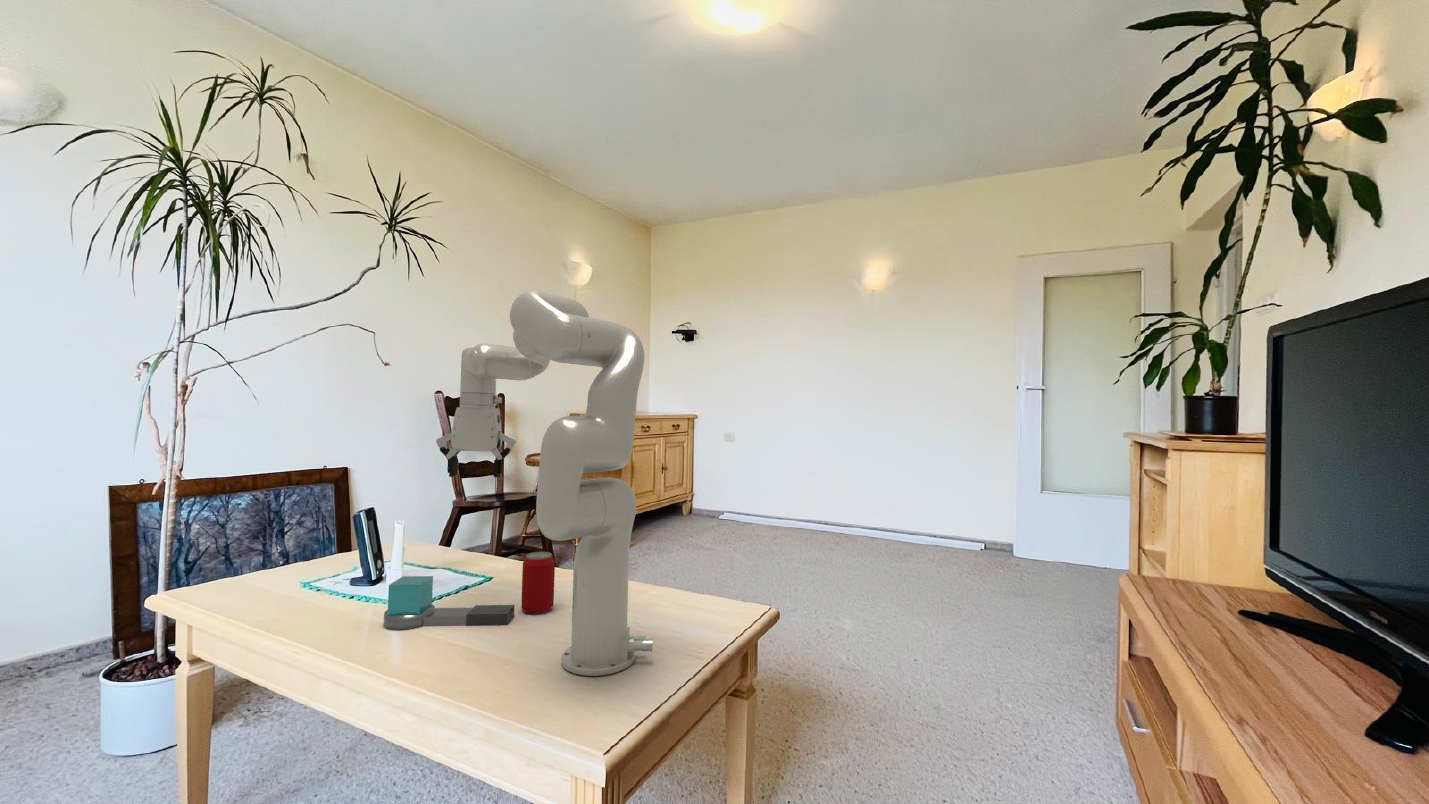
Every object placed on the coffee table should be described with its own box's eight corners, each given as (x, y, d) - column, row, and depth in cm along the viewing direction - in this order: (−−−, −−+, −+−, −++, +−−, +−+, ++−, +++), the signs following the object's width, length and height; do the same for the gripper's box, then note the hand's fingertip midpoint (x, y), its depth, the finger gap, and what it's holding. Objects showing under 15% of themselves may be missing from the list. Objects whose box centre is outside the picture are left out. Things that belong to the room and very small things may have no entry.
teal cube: (431, 605, 114) (433, 576, 115) (419, 615, 108) (420, 584, 109) (401, 605, 114) (403, 576, 114) (387, 615, 108) (388, 585, 108)
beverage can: (558, 605, 122) (559, 551, 123) (546, 616, 116) (547, 559, 116) (529, 604, 123) (531, 550, 123) (515, 614, 116) (517, 557, 117)
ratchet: (516, 613, 117) (517, 582, 118) (504, 629, 109) (505, 596, 109) (396, 615, 115) (398, 583, 115) (374, 631, 106) (375, 597, 106)
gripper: (520, 403, 130) (518, 475, 129) (444, 401, 128) (442, 474, 128) (512, 402, 122) (509, 478, 122) (431, 400, 121) (428, 478, 120)
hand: (475, 476), depth 125 cm, fingers open, 9 cm apart
